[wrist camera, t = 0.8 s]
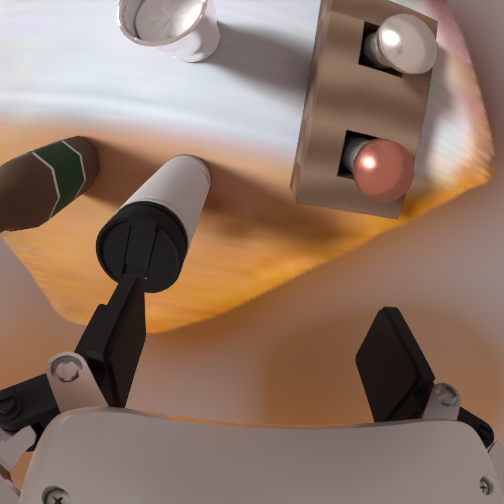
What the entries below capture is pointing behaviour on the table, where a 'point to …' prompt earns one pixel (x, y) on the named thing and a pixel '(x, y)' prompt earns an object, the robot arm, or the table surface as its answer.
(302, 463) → the robot arm
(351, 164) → the plug terracotta
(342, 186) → the socket board
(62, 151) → the beer bottle
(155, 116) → the table surface
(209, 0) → the beer glass
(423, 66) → the plug cream
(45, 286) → the table surface
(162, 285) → the travel mug
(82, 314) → the table surface
